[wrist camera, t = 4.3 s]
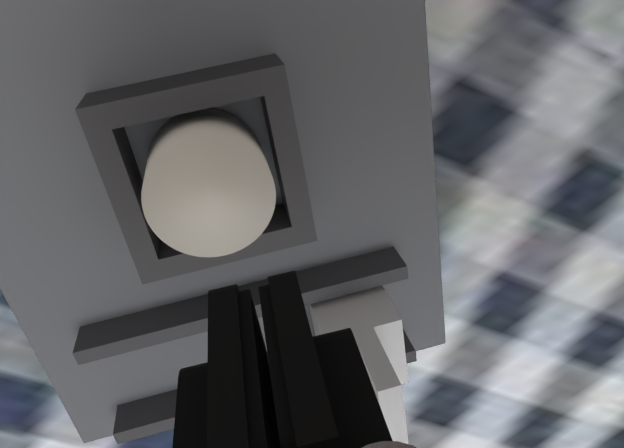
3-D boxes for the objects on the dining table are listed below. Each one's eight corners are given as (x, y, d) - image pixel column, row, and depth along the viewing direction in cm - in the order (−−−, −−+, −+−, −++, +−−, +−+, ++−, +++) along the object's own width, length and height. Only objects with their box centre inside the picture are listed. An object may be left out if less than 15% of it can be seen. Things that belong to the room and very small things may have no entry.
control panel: (376, -364, 16) (449, -485, 11) (429, 317, 27) (474, 387, 23) (-261, -278, 14) (-467, -381, 9) (91, 409, 26) (71, 503, 21)
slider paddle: (375, 273, 23) (434, 375, 17) (383, 332, 24) (439, 443, 19) (306, 291, 22) (343, 401, 17) (318, 350, 24) (357, 467, 19)
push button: (250, 97, 18) (261, 122, 16) (274, 201, 20) (286, 240, 18) (131, 123, 18) (122, 153, 15) (167, 227, 20) (164, 270, 17)
